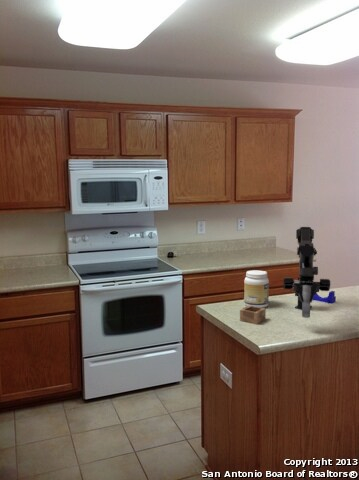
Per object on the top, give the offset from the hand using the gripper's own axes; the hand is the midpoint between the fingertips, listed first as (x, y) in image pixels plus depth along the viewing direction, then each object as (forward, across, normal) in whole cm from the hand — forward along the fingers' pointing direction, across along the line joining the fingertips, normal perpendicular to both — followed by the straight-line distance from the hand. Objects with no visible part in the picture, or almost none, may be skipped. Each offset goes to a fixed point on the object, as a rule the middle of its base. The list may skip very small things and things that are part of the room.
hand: (306, 301), depth 171 cm
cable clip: (-25, +10, +44) cm, 51 cm away
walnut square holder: (+1, -22, +17) cm, 28 cm away
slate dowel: (+4, 0, +6) cm, 7 cm away
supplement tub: (-15, -23, +33) cm, 43 cm away
